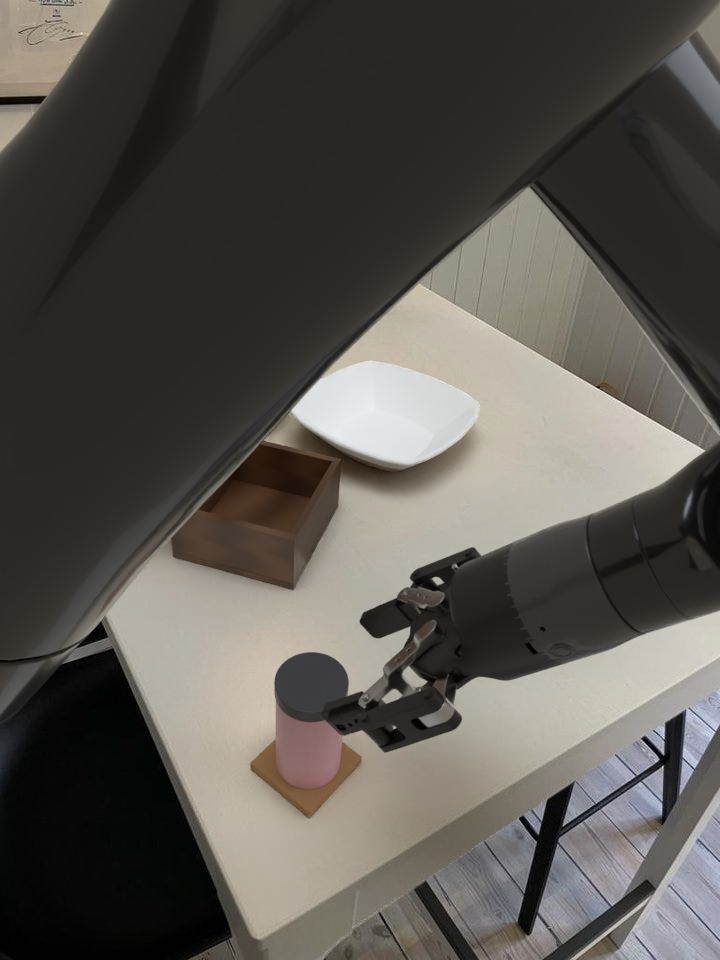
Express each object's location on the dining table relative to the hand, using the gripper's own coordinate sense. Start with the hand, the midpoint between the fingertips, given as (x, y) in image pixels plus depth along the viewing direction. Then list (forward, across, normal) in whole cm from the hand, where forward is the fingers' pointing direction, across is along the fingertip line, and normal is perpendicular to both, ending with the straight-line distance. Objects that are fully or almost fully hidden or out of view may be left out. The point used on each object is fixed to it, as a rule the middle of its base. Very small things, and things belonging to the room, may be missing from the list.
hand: (350, 670), depth 53 cm
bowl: (+16, -48, +3) cm, 51 cm away
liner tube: (+11, 0, +7) cm, 13 cm away
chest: (+22, -25, -3) cm, 34 cm away
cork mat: (+11, 0, +7) cm, 13 cm away
